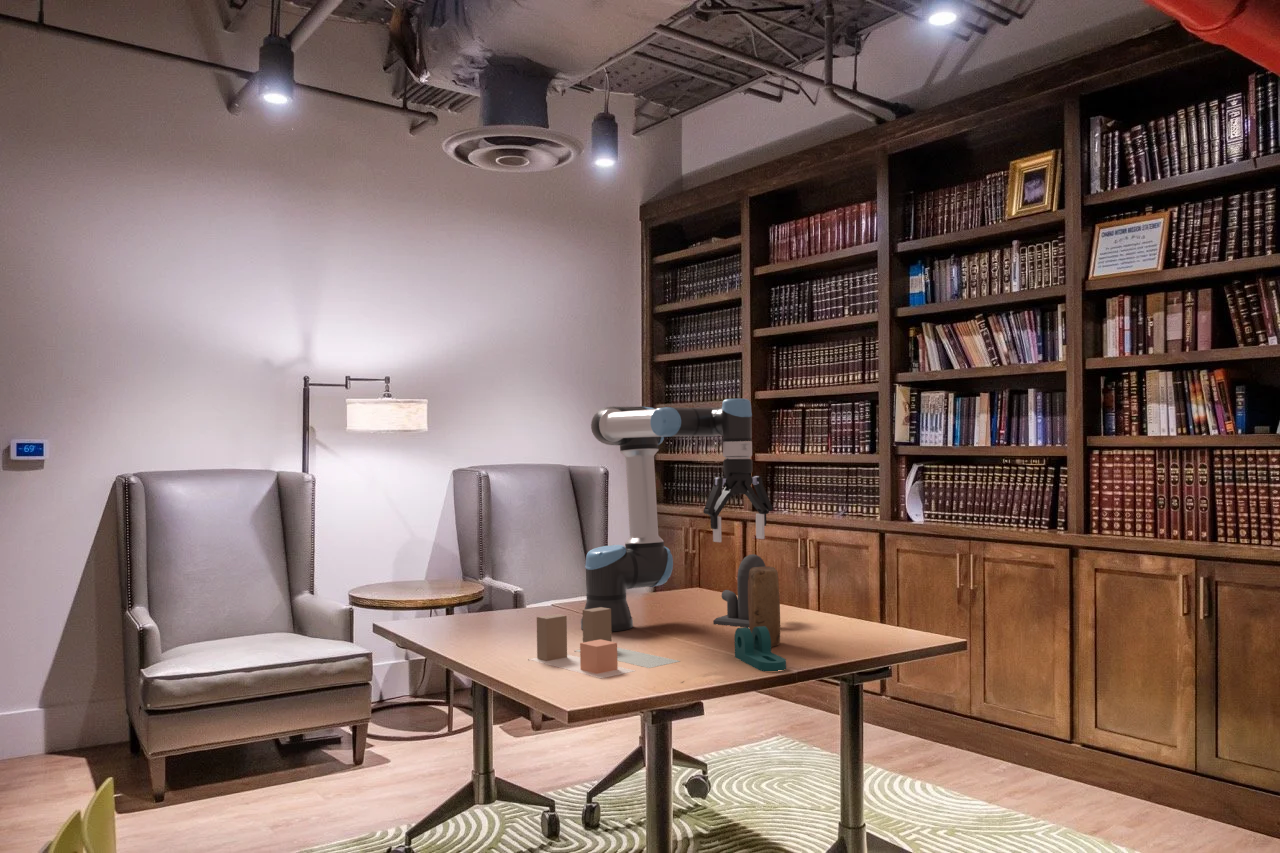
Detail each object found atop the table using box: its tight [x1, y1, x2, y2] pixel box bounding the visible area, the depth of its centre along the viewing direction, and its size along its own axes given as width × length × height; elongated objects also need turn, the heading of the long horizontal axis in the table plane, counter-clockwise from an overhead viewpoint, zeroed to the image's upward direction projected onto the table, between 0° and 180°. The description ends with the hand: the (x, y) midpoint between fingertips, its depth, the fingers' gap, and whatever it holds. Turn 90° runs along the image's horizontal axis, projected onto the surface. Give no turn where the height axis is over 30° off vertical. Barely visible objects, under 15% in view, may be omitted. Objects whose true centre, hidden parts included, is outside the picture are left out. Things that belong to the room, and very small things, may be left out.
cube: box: [579, 639, 619, 674], centre depth 219 cm, size 6×6×6 cm
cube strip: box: [527, 613, 636, 679], centre depth 224 cm, size 28×10×11 cm, turn 41°
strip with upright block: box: [573, 607, 681, 669], centre depth 234 cm, size 28×10×11 cm, turn 41°
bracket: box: [733, 626, 787, 672], centre depth 229 cm, size 18×7×8 cm, turn 16°
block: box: [748, 566, 781, 648], centre depth 252 cm, size 11×8×20 cm
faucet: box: [712, 553, 767, 628], centre depth 285 cm, size 18×16×20 cm
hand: (739, 540), depth 249 cm, fingers open, 13 cm apart
